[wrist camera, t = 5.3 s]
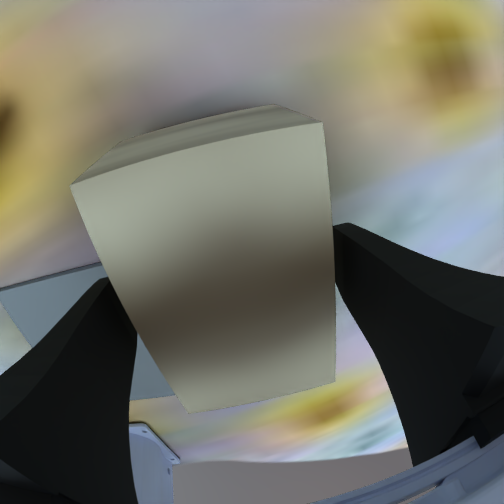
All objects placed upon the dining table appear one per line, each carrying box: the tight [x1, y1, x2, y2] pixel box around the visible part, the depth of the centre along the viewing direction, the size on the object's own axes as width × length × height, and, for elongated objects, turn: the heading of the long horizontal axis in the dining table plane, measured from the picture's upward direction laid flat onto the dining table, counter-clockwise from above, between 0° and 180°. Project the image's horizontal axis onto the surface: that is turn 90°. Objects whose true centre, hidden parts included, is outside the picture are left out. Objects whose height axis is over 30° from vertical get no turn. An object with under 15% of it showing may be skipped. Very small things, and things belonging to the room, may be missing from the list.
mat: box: [0, 262, 175, 400], centre depth 19 cm, size 12×9×1 cm
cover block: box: [70, 104, 336, 414], centre depth 11 cm, size 9×6×5 cm, turn 10°
